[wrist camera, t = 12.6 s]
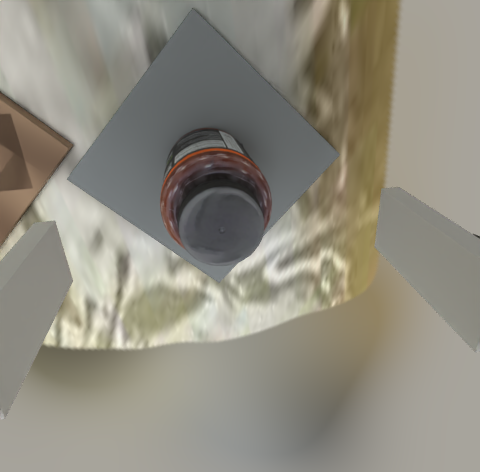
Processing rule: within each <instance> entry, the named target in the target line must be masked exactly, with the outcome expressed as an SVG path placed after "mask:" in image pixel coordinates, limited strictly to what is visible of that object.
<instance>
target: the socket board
mask: <svg viewBox="0 0 480 472" xmlns="http://www.w3.org/2000/svg"><path fill="white" fill-rule="evenodd" d="M72 147H73V144H71V143H70V142H69V141H67V140H66V139H64V138H63V137H62V136H60V135H59V134H58V133H56V132H55V131H53V130H52V129H51V128H49V127H48V126H46V125H45V124H44V123H42V122H41V121H40V120H38V119H37V118H35V117H34V116H33V115H31V114H30V113H28V112H27V111H26V110H24V109H23V108H22V107H20V106H19V105H17V104H16V103H15V102H13V101H12V100H10V99H9V98H8V97H6V96H5V95H4V94H2V93H1V92H0V246H1V245H2V244H3V242H4V241H5V240H6V238H7V237H8V235H9V234H10V233H11V231H12V230H13V228H14V227H15V226H16V224H17V223H18V221H19V220H20V219H21V217H22V216H23V215H24V213H25V212H26V210H27V209H28V208H29V206H30V205H31V203H32V202H33V201H34V199H35V198H36V197H37V195H38V194H39V192H40V191H41V190H42V188H43V187H44V185H45V184H46V183H47V181H48V180H49V178H50V177H51V176H52V174H53V173H54V172H55V170H56V169H57V167H58V166H59V165H60V163H61V162H62V160H63V159H64V158H65V156H66V155H67V154H68V152H69V151H70V149H71V148H72Z"/></svg>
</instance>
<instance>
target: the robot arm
mask: <svg viewBox="0 0 480 472" xmlns="http://www.w3.org/2000/svg"><path fill="white" fill-rule="evenodd" d="M375 248H376V249H377V250H378V251H379V252H380V253H381V254H382V255H383V256H384V257H385V258H386V259H387V261H388V262H389V263H390V264H391V265H392V266H393V267H394V268H395V269H396V270H397V271H398V272H399V273H400V274H401V275H402V276H403V277H404V278H405V279H406V280H407V281H408V282H409V283H410V285H411V286H412V287H413V288H414V289H415V290H416V291H417V292H418V293H419V294H420V295H421V296H422V297H423V298H424V299H425V300H426V301H427V302H428V303H429V304H430V306H431V307H432V308H433V309H434V310H435V311H436V312H437V313H438V314H439V315H440V316H441V317H442V318H443V319H444V320H445V321H446V322H447V323H448V324H449V326H451V328H452V329H453V330H454V331H455V332H456V333H457V334H458V335H459V336H460V337H461V338H462V339H463V340H464V341H465V342H466V343H467V344H468V345H469V346H470V348H471V349H472V350H473V351H474V352H480V236H477V235H475V234H471V233H470V232H468V231H467V230H465V229H463V228H462V227H461V226H459V225H457V224H456V223H454V222H453V221H451V220H450V219H448V218H447V217H445V216H443V215H442V214H440V213H439V212H437V211H436V210H434V209H432V208H431V207H429V206H428V205H426V204H425V203H423V202H421V201H420V200H418V199H417V198H416V197H414V196H412V195H411V194H409V193H408V192H406V191H405V190H403V189H402V188H400V187H394V188H383V189H381V198H380V206H379V215H378V223H377V232H376V240H375ZM72 282H73V279H72V276H71V272H70V269H69V266H68V262H67V259H66V256H65V252H64V249H63V246H62V242H61V239H60V236H59V232H58V229H57V225H56V222H55V221H47V222H36V223H34V224H33V225H32V226H31V227H30V228H29V229H28V231H27V232H26V233H25V234H24V235H23V236H22V237H21V238H20V240H19V241H18V242H17V243H16V244H15V245H14V246H13V247H12V249H11V250H10V251H9V252H8V253H7V254H6V255H5V257H4V258H3V259H2V260H1V261H0V419H5V418H6V416H7V414H8V412H9V410H10V408H11V405H12V404H13V401H14V400H15V397H16V395H17V394H18V391H19V389H20V387H21V385H22V383H23V381H24V379H25V377H26V375H27V373H28V371H29V369H30V367H31V365H32V363H33V361H34V359H35V357H36V355H37V353H38V351H39V349H40V347H41V345H42V343H43V341H44V339H45V337H46V335H47V333H48V331H49V329H50V327H51V325H52V323H53V321H54V319H55V316H56V314H57V312H58V310H59V308H60V306H61V304H62V302H63V300H64V298H65V296H66V294H67V292H68V290H69V288H70V286H71V284H72Z"/></svg>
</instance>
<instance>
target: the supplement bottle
mask: <svg viewBox="0 0 480 472" xmlns="http://www.w3.org/2000/svg"><path fill="white" fill-rule="evenodd" d="M241 144H242V143H240V142H239V141H238V140H237V139H235V138H234V137H233V136H231V135H230V134H228V133H226V132H224V131H221V130H218V129H214V128H202V129H197V130H193V131H191V132H189V133H187V134H185V135H184V136H182V137H181V138H180V139H179V140H178V141H177V142H176V143H175V145H174V146H173V148H172V149H171V151H170V153H169V155H168V158H167V162H166V166H165V173H164V178H163V185H162V190H161V197H160V210H161V215H162V219H163V223H164V225H165V228H166V230H167V231H168V233H169V235H170V236H171V237H172V238H173V240H174V241H175V242H176V243H177V244H178V245H180V246H181V247H182V248H184V249H185V250H187V252H188V253H189V254H190V255H191V256H192V257H194V258H195V259H197V260H198V261H200V262H202V263H205V264H208V265H213V266H227V265H232V264H235V263H238V262H240V261H242V260H244V259H245V258H247V257H248V256H250V255H251V254H252V253H253V252H254V251H255V249H256V248H257V247H258V245H259V243H260V242H261V239H262V237H263V233H264V231H265V229H266V227H267V225H268V223H269V220H270V216H271V212H272V197H271V192H270V187H269V185H268V183H267V181H266V179H265V177H264V175H263V174H262V173H261V171H260V169H259V167H258V166H257V165H256V164H255V163H254V161H253V160H252V158H251V157H250V156H249V154H248V153H247V151H246V150H245V149H244V147H243V144H242V145H241Z"/></svg>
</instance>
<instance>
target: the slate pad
mask: <svg viewBox="0 0 480 472" xmlns="http://www.w3.org/2000/svg"><path fill="white" fill-rule="evenodd" d="M202 128H214V129H218V130H221V131H224V132H226V133H228V134H230V135H231V136H233V137H234V138H235V139H237V140H238V141H239V142H240V143H242V144H243V147H244V149H245V150H246V151H247V153H248V154H249V156H250V157H251V158H252V160H253V161H254V163H255V164H256V165H257V166H258V167H259V169H260V171H261V173H262V174H263V175H264V177H265V179H266V181H267V183H268V185H269V187H270V192H271V197H272V212H271V216H270V220H269V223H268V225H267V227H266V229H265V231H264V233H263V236H264V235H265V234H266V233H267V232H268V230H269V229H270V228H271V227H272V226H273V225H274V224H275V223H276V222H277V221H278V220H279V219H280V218H281V217H282V216H283V215H284V214H285V212H286V211H287V210H288V209H289V208H290V207H291V206H292V205H293V204H294V203H295V202H296V201H297V200H298V199H299V198H300V197H301V195H302V194H303V193H304V192H305V191H306V190H307V189H308V188H309V187H310V186H311V185H312V184H313V183H314V182H315V181H316V180H317V178H318V177H319V176H320V175H321V174H322V173H323V172H324V171H325V170H326V169H327V168H328V167H329V166H330V165H331V164H332V163H333V161H334V160H335V159H336V158H337V157H338V156H339V155H340V154H339V153H338V152H337V151H336V150H335V149H334V148H333V147H332V146H331V145H330V144H329V143H328V142H327V141H326V140H325V139H324V138H323V137H322V136H321V135H320V134H319V133H318V132H317V131H316V130H315V129H314V128H313V127H312V126H311V125H310V124H309V123H308V122H307V121H306V120H305V119H304V118H303V117H302V116H301V115H300V114H299V113H298V112H297V111H296V110H295V109H294V108H293V107H292V106H291V105H290V104H289V103H288V102H287V101H286V100H285V99H284V98H283V97H282V96H281V95H280V94H279V93H278V92H277V91H276V90H275V89H274V88H273V87H272V86H271V85H270V84H269V83H268V82H267V81H266V80H265V79H264V78H263V77H262V76H261V75H260V74H259V73H258V72H257V71H256V70H255V69H254V68H253V67H252V66H251V65H250V64H249V63H248V62H247V61H246V60H245V59H244V58H243V57H242V56H241V55H240V54H239V53H238V52H237V51H236V50H235V49H234V48H233V47H232V46H231V45H230V44H229V43H228V42H227V41H226V40H225V39H224V38H223V37H222V36H220V35H219V34H218V33H217V32H216V31H215V30H214V29H213V28H212V27H211V26H210V25H209V24H208V23H207V22H206V21H205V20H204V19H203V18H202V17H201V16H200V15H199V14H198V13H197V12H196V11H195V10H194V9H193V8H192V10H191V11H190V12H189V14H188V15H187V17H186V18H185V19H184V21H183V22H182V23H181V25H180V26H179V27H178V29H177V30H176V31H175V33H174V34H173V36H172V37H171V38H170V40H169V41H168V42H167V44H166V45H165V46H164V48H163V49H162V51H161V52H160V53H159V55H158V56H157V57H156V59H155V60H154V61H153V63H152V64H151V65H150V67H149V68H148V70H147V71H146V72H145V74H144V75H143V76H142V78H141V79H140V80H139V82H138V83H137V84H136V86H135V87H134V89H133V90H132V91H131V93H130V94H129V95H128V97H127V98H126V99H125V101H124V102H123V104H122V105H121V106H120V108H119V109H118V110H117V112H116V113H115V114H114V116H113V117H112V118H111V120H110V121H109V123H108V124H107V125H106V127H105V128H104V129H103V131H102V132H101V133H100V135H99V136H98V138H97V139H96V140H95V142H94V143H93V144H92V146H91V147H90V148H89V150H88V151H87V152H86V154H85V155H84V157H83V158H82V159H81V161H80V162H79V163H78V165H77V166H76V167H75V169H74V170H73V171H72V173H71V174H70V176H69V177H68V178H67V180H69V181H70V182H72V183H73V184H74V185H76V186H77V187H79V188H80V189H82V190H83V191H85V192H86V193H88V194H89V195H91V196H92V197H94V198H95V199H97V200H98V201H99V202H101V203H102V204H104V205H105V206H107V207H108V208H110V209H111V210H113V211H114V212H116V213H117V214H119V215H120V216H122V217H123V218H124V219H126V220H127V221H129V222H130V223H132V224H133V225H135V226H136V227H138V228H139V229H141V230H142V231H144V232H145V233H147V234H148V235H149V236H151V237H152V238H154V239H155V240H157V241H158V242H160V243H161V244H163V245H164V246H166V247H167V248H169V249H170V250H172V251H173V252H174V253H176V254H177V255H179V256H180V257H182V258H183V259H185V260H186V261H188V262H189V263H191V264H192V265H194V266H195V267H197V268H198V269H199V270H201V271H202V272H204V273H205V274H207V275H208V276H210V277H211V278H213V279H214V280H216V281H217V282H219V283H220V281H221V280H222V279H223V278H224V277H225V276H226V275H227V274H228V273H229V272H230V271H231V270H232V269H233V268H234V267H235V266H236V264H237V263H235V264H232V265H227V266H213V265H208V264H205V263H202V262H200V261H198V260H197V259H195V258H194V257H192V256H191V255H190V254H189V253H188V252H187V250H185V249H184V248H182V247H181V246H180V245H178V244H177V243H176V242H175V241H174V240H173V238H172V237H171V236H170V235H169V233H168V231H167V230H166V228H165V225H164V223H163V219H162V215H161V210H160V197H161V190H162V185H163V178H164V173H165V166H166V162H167V158H168V155H169V153H170V151H171V149H172V148H173V146H174V145H175V143H176V142H177V141H178V140H179V139H180V138H181V137H182V136H184V135H185V134H187V133H189V132H191V131H193V130H197V129H202ZM242 144H241V145H242Z"/></svg>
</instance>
